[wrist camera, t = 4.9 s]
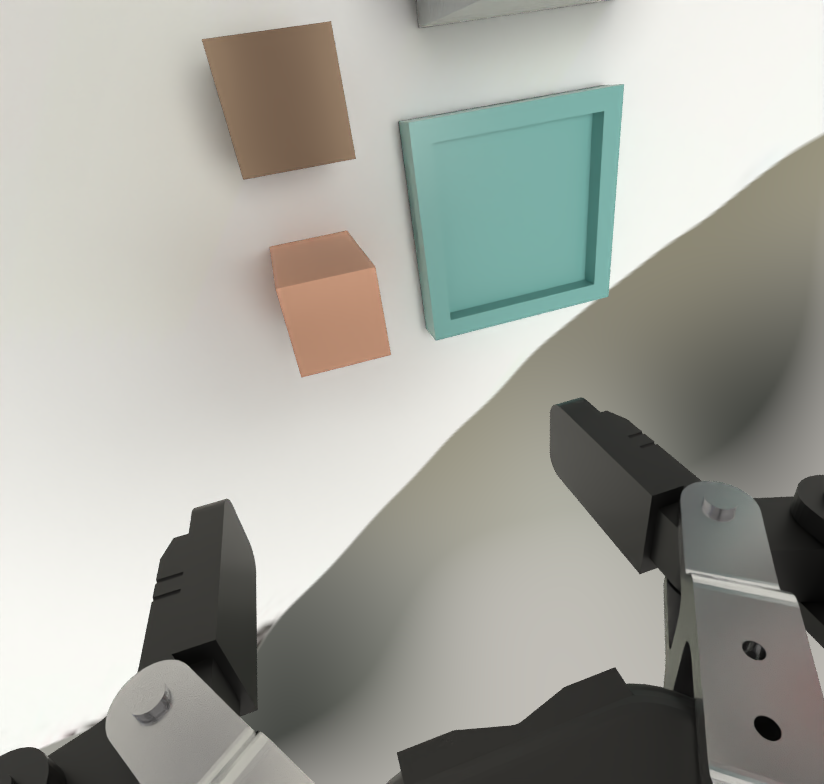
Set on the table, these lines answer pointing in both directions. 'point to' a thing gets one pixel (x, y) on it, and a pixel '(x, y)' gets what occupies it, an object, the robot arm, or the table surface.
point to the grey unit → (482, 9)
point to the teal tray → (513, 206)
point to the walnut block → (282, 98)
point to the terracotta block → (329, 302)
